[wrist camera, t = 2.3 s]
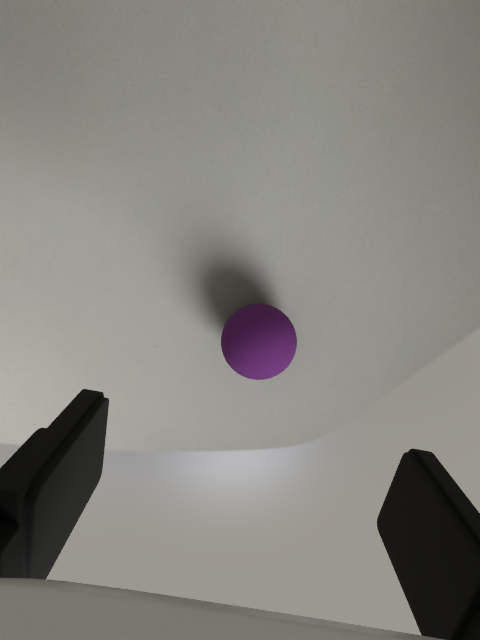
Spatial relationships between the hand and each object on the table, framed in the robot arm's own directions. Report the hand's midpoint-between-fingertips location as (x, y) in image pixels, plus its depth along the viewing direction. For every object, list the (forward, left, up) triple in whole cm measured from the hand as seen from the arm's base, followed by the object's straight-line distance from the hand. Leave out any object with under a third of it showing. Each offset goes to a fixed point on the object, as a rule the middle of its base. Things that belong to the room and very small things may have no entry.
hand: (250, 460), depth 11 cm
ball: (0, 0, -12) cm, 12 cm away
